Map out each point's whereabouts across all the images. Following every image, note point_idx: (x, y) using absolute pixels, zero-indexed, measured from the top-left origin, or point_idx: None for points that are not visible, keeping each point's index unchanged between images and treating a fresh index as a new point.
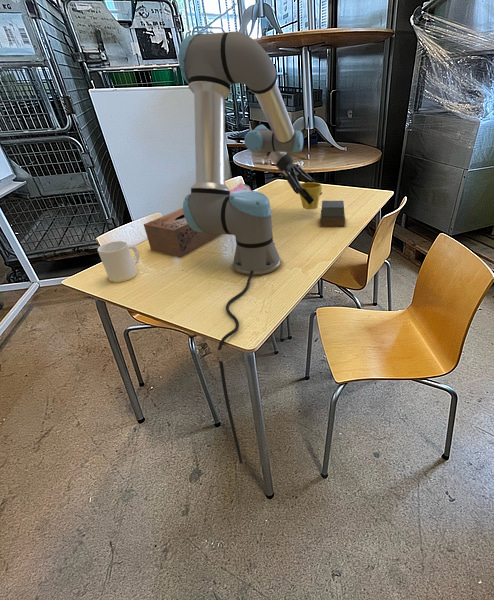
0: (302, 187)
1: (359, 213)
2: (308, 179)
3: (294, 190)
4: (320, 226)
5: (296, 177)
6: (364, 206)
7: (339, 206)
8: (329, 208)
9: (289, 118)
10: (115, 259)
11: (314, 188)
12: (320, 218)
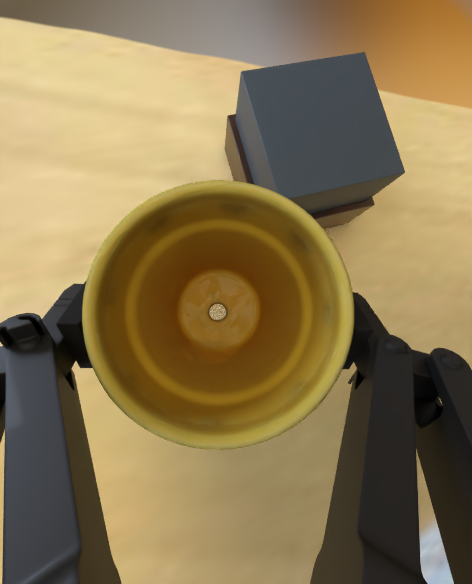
0: (175, 405)
1: (136, 91)
2: (60, 381)
3: (436, 401)
4: (348, 221)
5: (382, 518)
6: (16, 78)
7: (359, 77)
8: (386, 134)
9: None
10: None
11: (318, 224)
12: (371, 206)
